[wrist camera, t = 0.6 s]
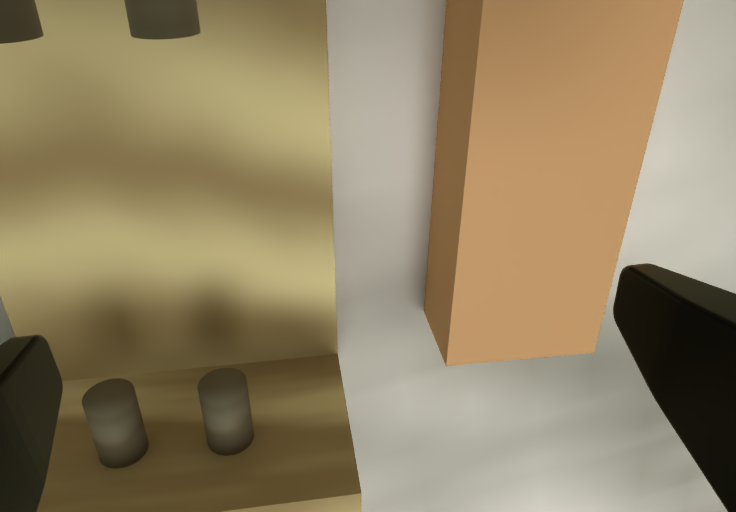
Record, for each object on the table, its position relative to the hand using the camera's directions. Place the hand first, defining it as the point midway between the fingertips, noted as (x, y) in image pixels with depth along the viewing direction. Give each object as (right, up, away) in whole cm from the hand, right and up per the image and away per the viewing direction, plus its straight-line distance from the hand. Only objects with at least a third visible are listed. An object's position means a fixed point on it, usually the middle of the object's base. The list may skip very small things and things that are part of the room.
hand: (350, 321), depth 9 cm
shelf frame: (-7, +4, +12) cm, 14 cm away
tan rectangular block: (+6, +5, +14) cm, 16 cm away
